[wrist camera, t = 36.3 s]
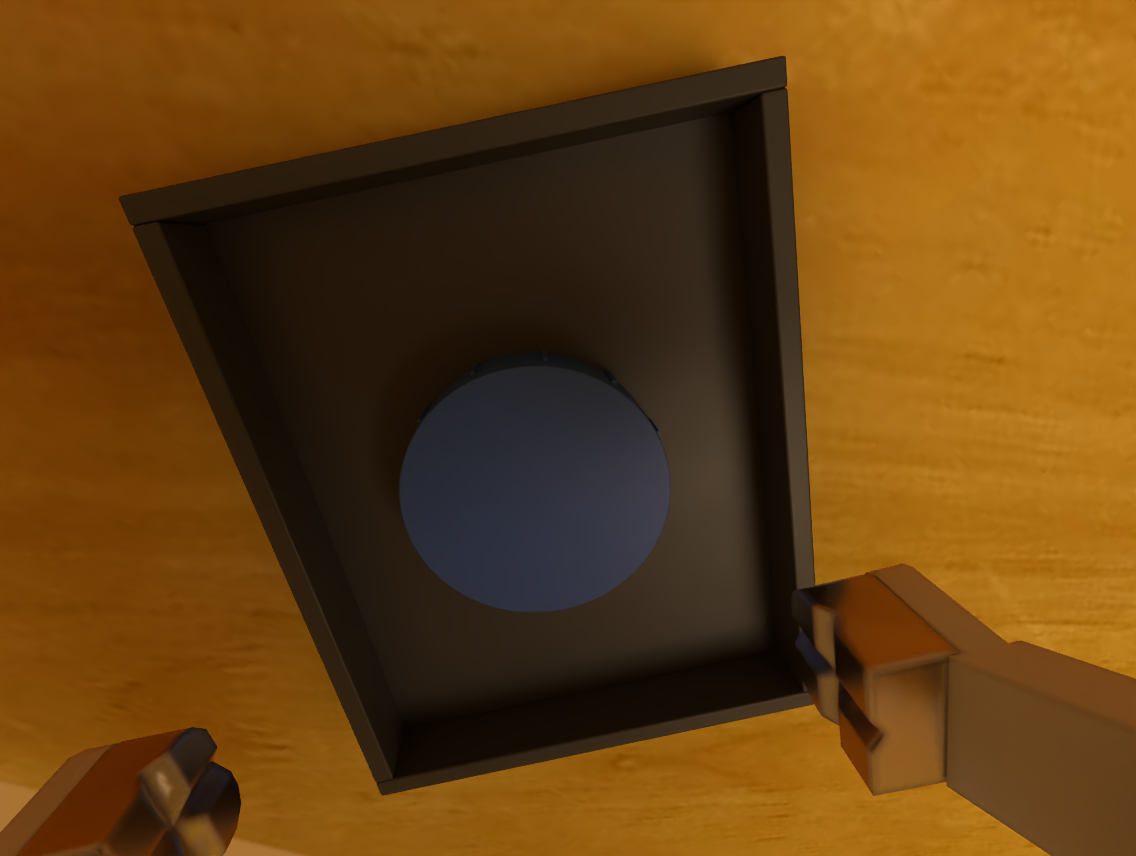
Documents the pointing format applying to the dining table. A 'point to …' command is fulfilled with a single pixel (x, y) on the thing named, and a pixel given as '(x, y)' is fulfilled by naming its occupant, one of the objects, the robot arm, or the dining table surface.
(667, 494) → the jar lid
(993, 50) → the dining table surface
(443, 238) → the tray
